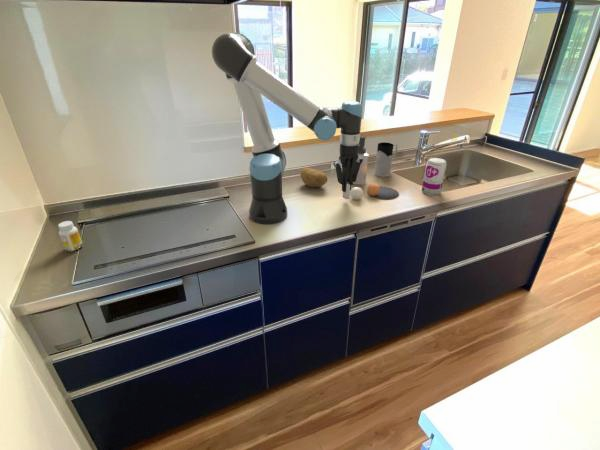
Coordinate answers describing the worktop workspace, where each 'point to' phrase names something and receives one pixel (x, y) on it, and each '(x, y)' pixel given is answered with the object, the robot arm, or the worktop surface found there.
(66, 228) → the supplement bottle
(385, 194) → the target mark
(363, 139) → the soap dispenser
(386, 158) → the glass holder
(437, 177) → the supplement can
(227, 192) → the worktop surface
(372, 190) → the object ball
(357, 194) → the cue ball
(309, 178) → the potato
